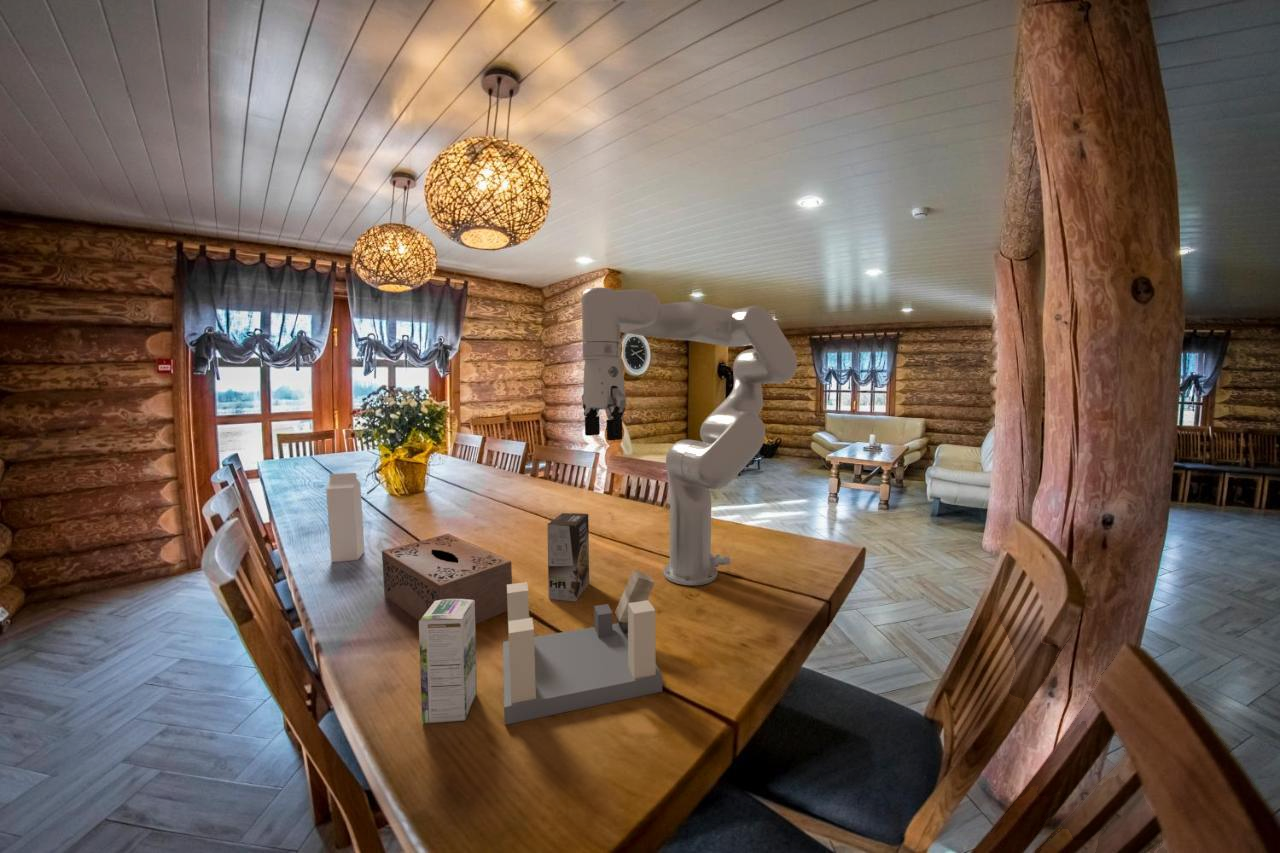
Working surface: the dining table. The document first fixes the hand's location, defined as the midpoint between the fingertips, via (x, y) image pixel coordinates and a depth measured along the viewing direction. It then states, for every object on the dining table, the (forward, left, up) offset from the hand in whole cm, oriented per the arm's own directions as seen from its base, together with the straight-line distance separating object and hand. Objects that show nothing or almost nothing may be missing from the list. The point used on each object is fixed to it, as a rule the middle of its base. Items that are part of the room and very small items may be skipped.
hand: (603, 437), depth 94 cm
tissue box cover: (+32, -7, -34) cm, 47 cm away
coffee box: (+7, -4, -34) cm, 35 cm away
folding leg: (+1, +18, -31) cm, 36 cm away
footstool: (+10, +24, -34) cm, 43 cm away
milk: (+59, -41, -34) cm, 79 cm away
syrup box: (+28, +27, -34) cm, 51 cm away
